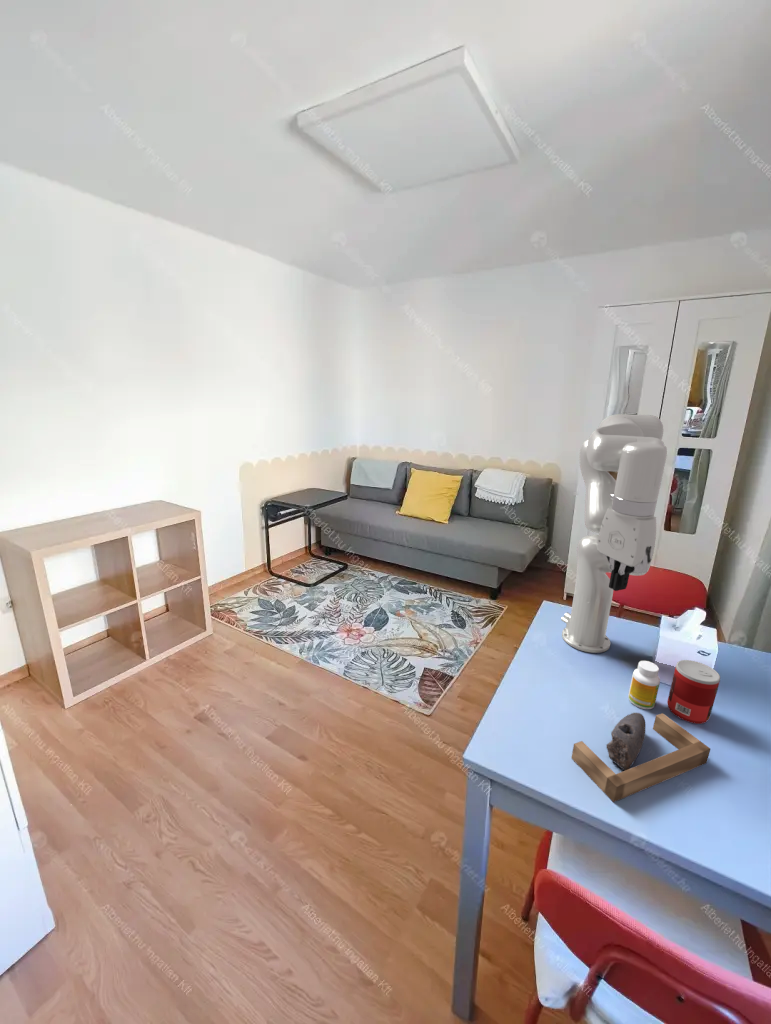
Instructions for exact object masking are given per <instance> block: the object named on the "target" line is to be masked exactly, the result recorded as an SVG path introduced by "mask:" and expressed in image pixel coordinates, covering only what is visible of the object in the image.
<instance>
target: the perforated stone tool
mask: <svg viewBox="0 0 771 1024" xmlns="http://www.w3.org/2000/svg"><path fill="white" fill-rule="evenodd" d="M645 736H646V720H645V717H644V716H643V714H642V713H640V712H631V713H630V714H627V715H625V716H624V717H622V719H621V720H619V721H618V723H616V724H615V726H614V728H613V729H612V731H611V740H610V741H609V742H608V743H607V744H605V745H606V750H607V753H608V758H609V759H610V760H612V762H613V763H615V764H616V765H617V766H618V767H619V768H620V769H622V770H624V771H625V770H628V769H630V768H632V765H634V763H635V762H636V759H637V758H638V756H639V754H640V752H641V751H642V747H643V744H644V742H645V741H644V740H645Z"/></svg>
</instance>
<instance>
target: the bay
mask: <svg viewBox="0 0 771 1024" xmlns="http://www.w3.org/2000/svg"><path fill="white" fill-rule="evenodd" d="M652 730H653V731H655V732H656V733H657V734H659V736H661V737H662V738H664V740H666V741H667V742H668V743H670V744H671V745H672V746H674V747H675V749H676V750H674V751H671V752H669V753H666V754H664V755H660V756H659V757H656V758H654V759H652V760H649V761H646V762H643V763H641V764H638V765H635V766H633V767H630V768H629V769H628V770H624V771H623V770H622V771H619V772H617V773H616V772H614V771H613V770H612V769H611V767H609V766H608V765H607V764H606V763H605V762H604V761H603V760H602V759H601V758H600V757H599V756H598V755H597V754H596V753H594V751H593V750H592V749H590V747H589V746H587V744H586V743H584V741H583V740H581V741H577V742H575V743H573V747H572V751H571V752H572V753H571V760H572V761H574V763H575V764H576V765H577V766H578V767H579V768H580V769H581V770H582V771H583V772H584V773H585V774H586V776H587V777H589V779H591V781H592V782H593V783H594V784H595V785H596V786H597V787H598V788H599V789H600V790H601V791H602V792H603V793H604V794H605V795H606V797H608V798H609V799H610V801H612V803H615V802H617V801H621V800H623V799H625V798H628V797H630V796H633V795H635V794H637V793H640V792H642V791H644V790H647V789H648V788H652V787H653V786H655V785H658V784H662V783H663V782H666V781H667V780H670V779H672V778H675V777H677V776H679V775H683V774H684V773H687V772H690V771H691V770H694V769H696V768H698V767H699V768H700V767H701V766H703V765H706V764H707V763H708V760H709V756H710V753H711V748H710V746H708V745H706V744H705V743H704V742H702V741H701V740H699V739H698V738H697V737H696V736H695V735H693V734H692V733H690V732H689V731H687V729H685V728H683V727H682V726H681V725H679V724H678V723H677V722H676V721H674V720H672V718H669V717H668V716H667V715H666V714H664V713H663V712H662V713H659V714H655V718H654V722H653V727H652Z"/></svg>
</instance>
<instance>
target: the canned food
mask: <svg viewBox="0 0 771 1024" xmlns="http://www.w3.org/2000/svg"><path fill="white" fill-rule="evenodd" d="M720 682H721V675H720V674H719V673H718V671H716V670H715V669H714V668H712V667H711V666H708V665H707V664H704V663H702V662H698V661H695V660H689V659H684V660H683V659H681V660H679V661H677V663H676V665H675V668H674V672H673V675H672V679H671V686H670V688H669V694H668V698H667V707H668V710H669V711H670V712H671V713H672V714H673V715H675V716H676V717H677V718H678V719H681V720H683V721H685V722H686V723H687V722H688V723H691V724H697V725H698V724H699V725H700V724H705V723H707V722H708V721H709V720H710V718H711V714H712V711H713V707H714V704H715V700H716V696H717V694H718V690H719V687H720Z"/></svg>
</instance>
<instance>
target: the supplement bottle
mask: <svg viewBox="0 0 771 1024" xmlns="http://www.w3.org/2000/svg"><path fill="white" fill-rule="evenodd" d="M659 671H660V668H659V666H658V665H657V664H656V663H653V662H652V661H649V660H640V661H639V662H638V664H637V668H635V669H634V671H633V672H632V676H631V680H630V685H629V689H628V696H627V698H628V700H629V702H630V703H631V704H633V705H634V706H635V707H637V708H639V709H642V710H652V709H653V708H655V705H656V702H657V696H658V692H659V689H660V684H661V678H660V676H659V673H660V672H659Z"/></svg>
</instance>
